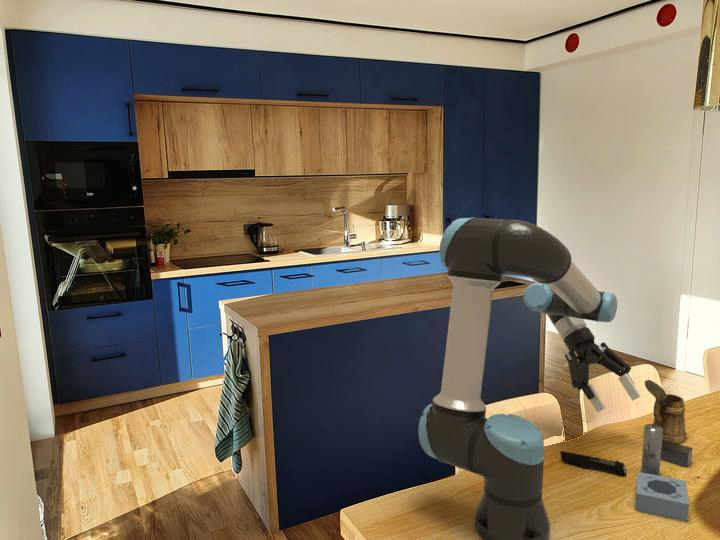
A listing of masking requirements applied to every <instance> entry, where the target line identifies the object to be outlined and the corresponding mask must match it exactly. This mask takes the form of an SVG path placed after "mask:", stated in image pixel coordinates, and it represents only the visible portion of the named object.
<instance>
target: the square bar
mask: <svg viewBox="0 0 720 540" xmlns="http://www.w3.org/2000/svg"><path fill="white" fill-rule="evenodd" d="M693 451H694V450H693V447H691V446H687V445H683V444H681V443H673V442H669V441H666V440H662V449H661V461H662V462H665V463H669V464H673V465H676V466H679V467H683V468H686V469H688V468H689V467H690V465H691V464H692V459H693Z"/></svg>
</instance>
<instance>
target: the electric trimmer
mask: <svg viewBox="0 0 720 540" xmlns="http://www.w3.org/2000/svg"><path fill="white" fill-rule="evenodd" d="M559 452H560V457H561V460H562V461H563V462H565V463H568V464H572V465H575V466H578V467H581V468H585V469H595V470H600V471H604V472H609V473H612V474H618V475H620V477H627V468H626V465H625V464H624V462H620V461H619V460H616V461H614V460H610V459H605V458H600V457H595V456H590V455H585V454H579V453H573V452H567V451H564V450H561V451H559Z"/></svg>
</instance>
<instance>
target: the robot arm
mask: <svg viewBox="0 0 720 540" xmlns="http://www.w3.org/2000/svg"><path fill="white" fill-rule="evenodd" d="M438 249H439V251H438V253H439V257H440V262H441V264H442V265H443V267H444V268H446V269H447V276H446V277H447V278H448V280H449V281H450V282H451V284H452V293H451V304H450V309H449V310H450V311H449V319H448V328H447V337H446V344H445V345H446V346H445V351H444V352H445V355H444V360H443V361H444V363H443V371H442V380H441V389H440V392H439V393H438V394H436V396H434V397H433V398H432V403H430V404H428V405H427V406H426V407H425V408H424V410H423V411H422V415H421V416H420V419H419V423H418V439H419V443H420V447H421V448H422V450H423V451H424V453H425V454H426V455H428V456H430V457H431V458H433V459H436V460H437V461H438V462H440V463H443V464H448V465H451V466H453V467H456V468H459V469H462V470H463V471H464V470H465V471H467V472H469V473H472V474H475V475H478V476H481V477H483V493H482V495H481V497H480V501H479V503H478V505H477V508H476V511H475V515H474V529H475V531H476V533H477V534H478V536H479V538H481V539H482V540H550V533H551V524H550V521H549V520H550V519H549V516H548V513H547V510H546V508H545V504H544V500H543V484H544V483H543V481H544V464H545V461H544V460H545V456H546V453H545V444H544V443H545V441H544V440H545V439H544V435H543V433H542V432H541V431H540V428H539V427H538V426H537V425H536V424H534V423H533V422H532V421H530V420H528V418H527V419H526V418H523V417H522V416H519V415H515V414H510V413H508V414H507V415H506V414H505V413H497V414H496V413H495V414H493V415H490V416H488V418H487V417H486V413H487V405H486V404H485V403H484V402H483V401H482V399H481V393H482V385H483V378H484V377H483V376H484V371H485V370H484V368H485V361H486V352H487V345H488V344H487V342H488V334H489V327H490V326H489V325H490V318H491V309H492V302H493V301H492V300H493V294H494V293H493V292H494V289H496V288H497V287H498V286H499V285H500V284H501V283H502V277H503V275H504V276H514V277H524V278H528V279H532V280H533V281H534V282H533V283H531V284H529V285H528V286H527V287H526V288H525V290H524V292H523V303H524V304H525V305H526V307H527V308H528V309H530V310H532V311H533V312H535V313H541V314H545V315H547V317H548V318H549V320H550V321H551V324H553V326H554V328H555V329H556V331H557V333H558V335H559V336H560V338H561V339H563V343H564V344H565V347H567V349H568V351H567V353H565V354H564V357H565V359H566V361H567V363H568V364H567V365H568V369H569V374H570V380H571V386H572V387H573V388H574V389H577V390H578V391H581V390H582V392H583V393H584V395H585V397H586V398H587V400H589V401H590V403H591V404H592V406H593V408H594V409H595V411H596V413H599V412H601V411H602V410H604V409H606V408H607V406H606V404H605V403H604V401H603V400H602V398H601V396H600V395H599V393H598V392H597V389H596V388H595V387H594V385H593V383H590V384H589V376H590V375H589V373H590V366H591V365H595V364H597V365H601V366H602V367H604V368H605V369H607V370H608V371H610V372H612V374H613V373H614V374H615V375H617V376H618V377H619V378H618V381H619V382H620V384H621V385H622V387H623V388H624V390H625V391H626V393H627V394H628V396H629V397H630V399H631V401H635V400H636V399H639V398H641V396H642V394H641V393H640V392H639V389H638V388H637V387H636V385H635V383H634V381H633V379H632V378H631V376H630V375H629V373H630V372H631V370H632V367H631V366H630V365H629V364H628V363H627V362H625V361H624V360H623V359H622V358H621V357H620V356H619V355H617V354H616V353H615V352H614V351H613V350H612V349H610V348H609V346H608V345H607V344H606V343H605V342H601V343H599V344H597V343H596V342H595V338H596V337H595V336H594V333H593V332H592V330H590V328H589V327H587V322H586V321H592V322H596V323H599V322H600V323H610V322H612V321H614V319H615V317H616V315H617V310H618V299H617V296H616V294H615V293H612V292H607V291H599V290H598V289H597V288H596V286H595V285H594V284H593V283H592V282H591V280H589V278H587V276H586V275H585V273H583V272H582V271H581V270H580V269H579V267H578V266H577V265H576V264H575V262H573V260H572V254H571V253H570V251H569V249H568V247H566V245H565V244H564V243H563V242H562V241H561V240H560V239H558V238H557V237H556V236H554V235H553V234H551V233H550V232H549V231H547V230H545V229H544V228H541V227H540V226H538V225H535V224H533V223H531V222H528V221H524V220H521V219H520V220H519V219H503V218H499V219H498V218H488V217H487V218H484V217H474V216H473V217H464V218H463V217H461V218H457V219H455V220H453V221H452V222H451V223H450V225H449V226H447V227H446V229H445V230H444V232H443V234H442V235H441V239H440V244H439V248H438ZM585 320H586V321H585Z"/></svg>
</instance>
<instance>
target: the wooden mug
mask: <svg viewBox="0 0 720 540" xmlns="http://www.w3.org/2000/svg"><path fill="white" fill-rule="evenodd" d="M644 386H645V389H646V390H647V392H649V393H650V394H651V396H653V397H654V398H655V400H654V405H653V409H652V410H653V411H652V412H653V417H654V418H653V422H652V424H654V425H658V426H660V427H662V428H663V437H662V440H666V441H669V442H673V443H676V444H683V443H685V442H686V441H687V439H688V437H687V431H686V423H685V412H686V405H685V404H684V403H685V401H684V398H682V397H681V396H678V395H675V394H672V393H671V394H670V393H666V391H665V390H664V388H662V387H661V385H659V384H658V383H656V382H655V381H653V380H652V379H647V380H645V381H644Z"/></svg>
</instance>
